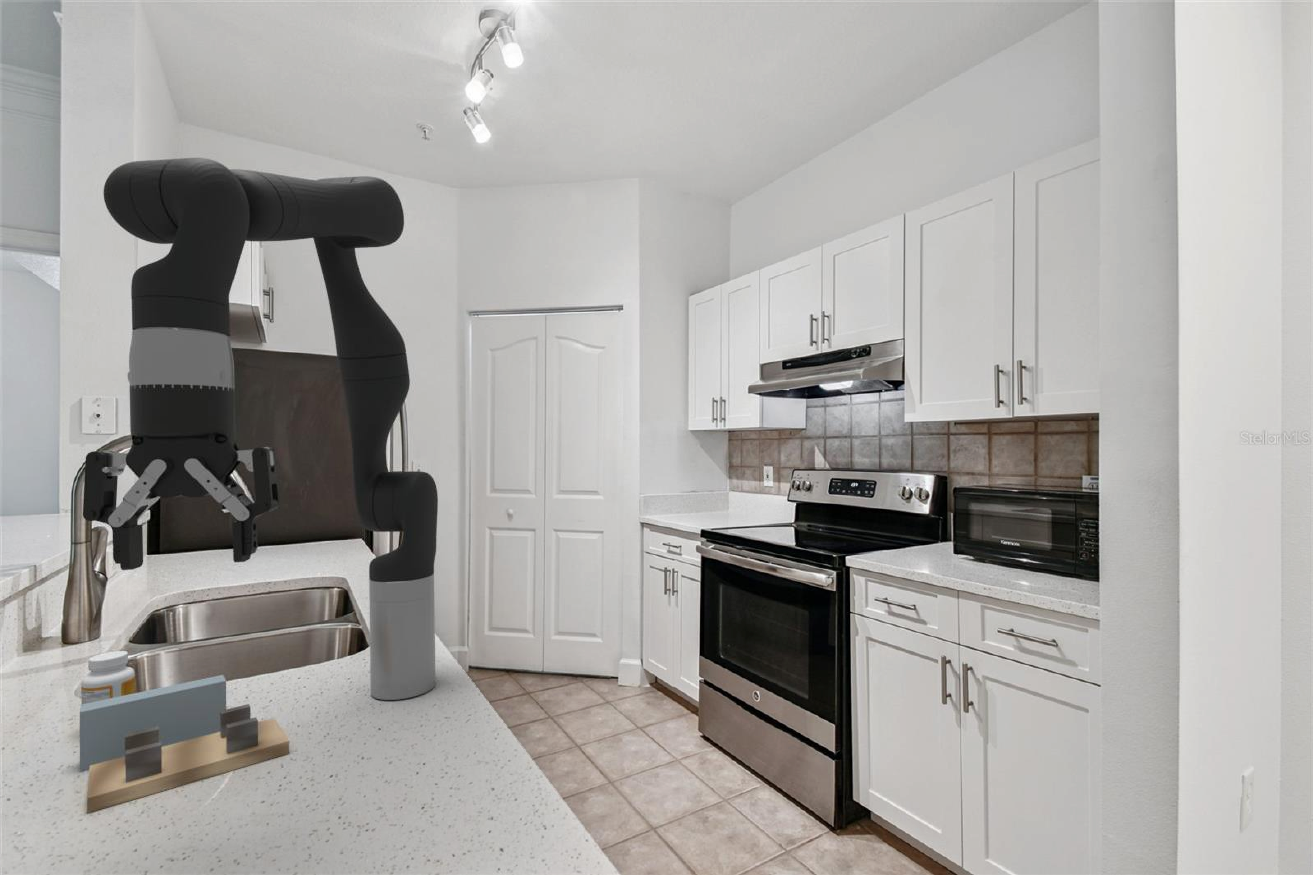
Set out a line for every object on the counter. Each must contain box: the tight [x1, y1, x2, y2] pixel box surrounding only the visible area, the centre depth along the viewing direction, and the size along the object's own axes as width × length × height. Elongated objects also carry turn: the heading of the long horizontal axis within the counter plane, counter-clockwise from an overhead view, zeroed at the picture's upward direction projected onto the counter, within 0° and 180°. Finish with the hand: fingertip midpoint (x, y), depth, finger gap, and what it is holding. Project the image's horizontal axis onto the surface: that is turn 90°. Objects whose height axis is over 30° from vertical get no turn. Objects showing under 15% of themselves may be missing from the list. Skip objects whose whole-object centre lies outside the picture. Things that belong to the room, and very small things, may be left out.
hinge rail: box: [86, 703, 290, 814], centre depth 72 cm, size 18×9×4 cm, turn 131°
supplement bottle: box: [80, 650, 136, 704], centre depth 83 cm, size 5×5×10 cm
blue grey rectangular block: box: [79, 674, 227, 773], centre depth 77 cm, size 14×3×7 cm, turn 131°
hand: (188, 564), depth 56 cm, fingers open, 8 cm apart
